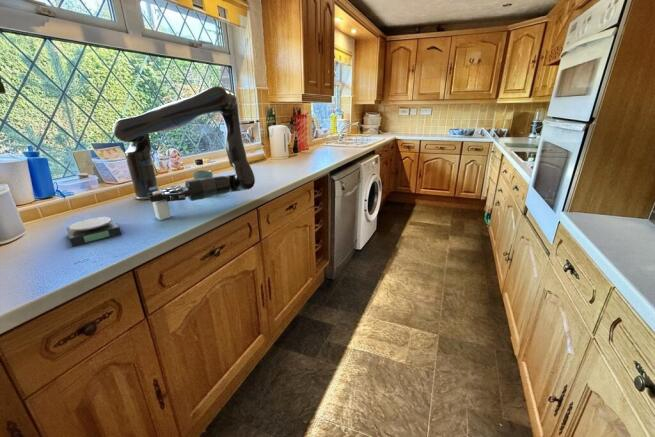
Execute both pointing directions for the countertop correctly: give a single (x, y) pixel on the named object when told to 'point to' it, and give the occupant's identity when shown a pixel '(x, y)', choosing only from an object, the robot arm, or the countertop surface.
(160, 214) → the salt shaker
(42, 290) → the countertop surface
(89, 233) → the scale
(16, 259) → the countertop surface
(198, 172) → the cup
